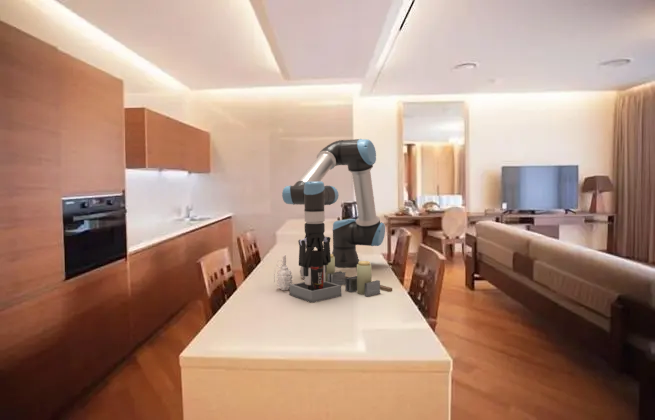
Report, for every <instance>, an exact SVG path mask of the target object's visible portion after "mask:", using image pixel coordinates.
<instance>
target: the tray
mask: <svg viewBox="0 0 655 420" xmlns="http://www.w3.org/2000/svg"><path fill="white" fill-rule="evenodd" d="M289 296H291V297H294V298H296V299H300V300H302V299H303V301H305V300H306V302H308V301H309V303H311V302H313V303H317V302H320V301H321V300H322V301H326V300H330V299H334V298H338V297H342V285H337V284H334V283H330V282H327V281H325V282H323V289H318V290H314V291H311V290H308V285H307V284H305V281H302V282H297V283H292V284H291V285H290V288H289ZM316 301H317V302H316ZM322 301H321V302H322Z"/></svg>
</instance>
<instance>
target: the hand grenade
mask: <svg viewBox="0 0 655 420" xmlns="http://www.w3.org/2000/svg"><path fill="white" fill-rule="evenodd" d="M286 256H287V255H286V254H283V256H282V259H280V260H278V262H282V264H281V265H280V266H279V265H277V267H276V268H274V273H273V274H274V275H273V283H275V278H276V279H277V280H276V284H277V287H278V288H279V289H280V290H281V291H288V290H290V285H291V284H293V274H292V270H290V269H289V266H288V265H287V257H286ZM278 268H280V269H279V270H278V271H277V275H276V269H278Z"/></svg>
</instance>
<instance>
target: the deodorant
mask: <svg viewBox="0 0 655 420" xmlns="http://www.w3.org/2000/svg"><path fill="white" fill-rule="evenodd" d="M309 267H310V268H311V285H308V290H311V291H314V290H318V289H323V251H317V249H316V250H315V249H314V250H313V252H312V253H311V260H310V264H309Z"/></svg>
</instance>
